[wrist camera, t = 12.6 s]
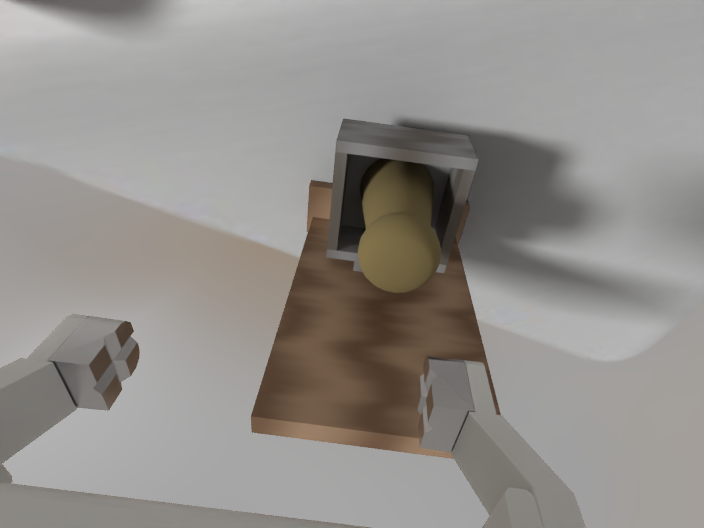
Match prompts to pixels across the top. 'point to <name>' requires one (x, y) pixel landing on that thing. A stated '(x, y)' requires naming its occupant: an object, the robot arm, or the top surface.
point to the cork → (398, 226)
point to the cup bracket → (370, 305)
